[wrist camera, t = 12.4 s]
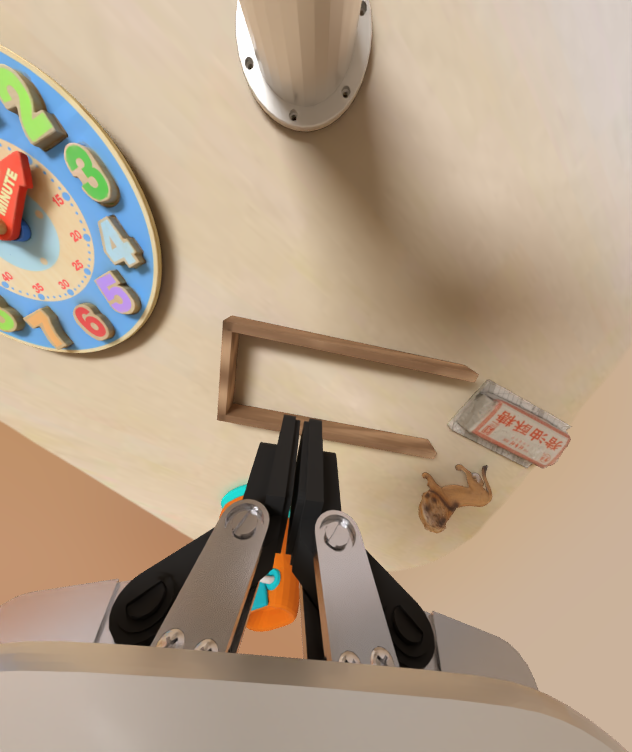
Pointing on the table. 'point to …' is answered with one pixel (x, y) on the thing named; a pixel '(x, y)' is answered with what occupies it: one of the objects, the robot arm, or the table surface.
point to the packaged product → (511, 426)
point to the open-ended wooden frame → (334, 345)
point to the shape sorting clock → (68, 222)
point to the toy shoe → (271, 584)
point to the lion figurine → (451, 499)
